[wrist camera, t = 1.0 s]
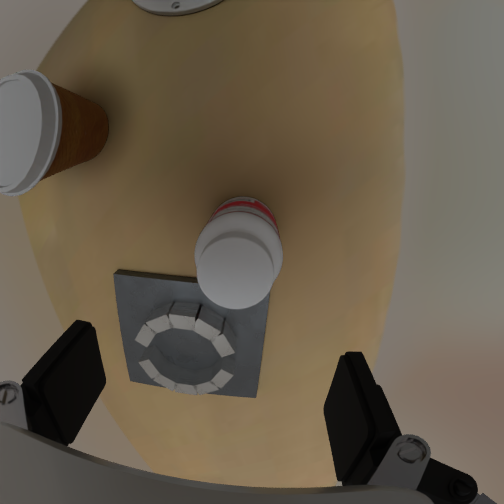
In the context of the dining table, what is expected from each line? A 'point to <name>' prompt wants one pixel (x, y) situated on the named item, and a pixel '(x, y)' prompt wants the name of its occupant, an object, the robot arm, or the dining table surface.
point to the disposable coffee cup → (44, 130)
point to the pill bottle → (238, 253)
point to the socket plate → (188, 336)
